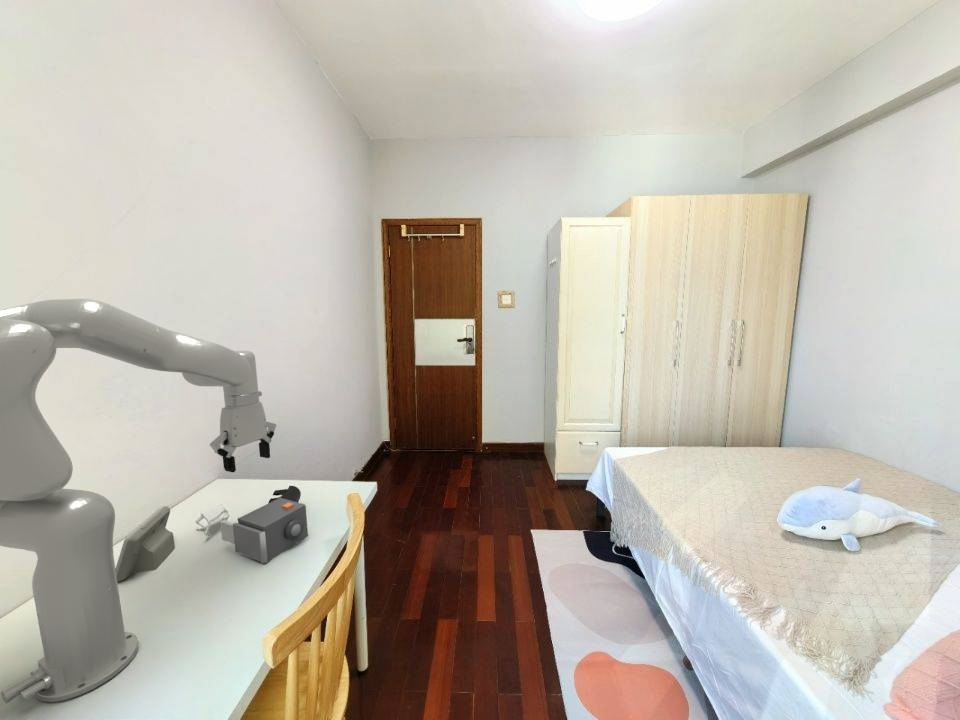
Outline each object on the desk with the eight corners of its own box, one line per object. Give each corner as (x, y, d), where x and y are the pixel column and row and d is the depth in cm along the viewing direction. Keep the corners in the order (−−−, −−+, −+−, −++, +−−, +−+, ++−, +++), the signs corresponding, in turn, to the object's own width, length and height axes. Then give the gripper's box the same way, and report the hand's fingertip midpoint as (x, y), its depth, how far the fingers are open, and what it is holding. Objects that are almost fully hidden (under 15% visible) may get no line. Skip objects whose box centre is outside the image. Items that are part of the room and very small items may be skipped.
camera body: (271, 563, 95) (268, 525, 94) (241, 551, 100) (237, 515, 98) (311, 537, 106) (309, 502, 104) (282, 527, 110) (279, 494, 109)
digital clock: (155, 542, 104) (150, 504, 103) (190, 541, 105) (185, 503, 103) (98, 585, 88) (92, 541, 87) (139, 583, 89) (133, 539, 87)
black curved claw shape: (296, 520, 114) (294, 498, 114) (269, 524, 113) (267, 502, 112) (301, 504, 124) (300, 484, 123) (277, 507, 122) (275, 487, 121)
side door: (264, 563, 94) (261, 534, 93) (222, 547, 101) (219, 520, 100) (268, 560, 95) (266, 532, 94) (226, 544, 102) (224, 517, 101)
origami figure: (196, 525, 113) (194, 509, 112) (230, 516, 117) (229, 501, 116) (192, 546, 103) (190, 528, 102) (230, 536, 107) (228, 519, 106)
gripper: (262, 391, 109) (267, 450, 111) (197, 406, 93) (204, 475, 95) (281, 393, 106) (286, 454, 108) (217, 409, 90) (225, 479, 93)
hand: (248, 464), depth 102 cm, fingers open, 9 cm apart
